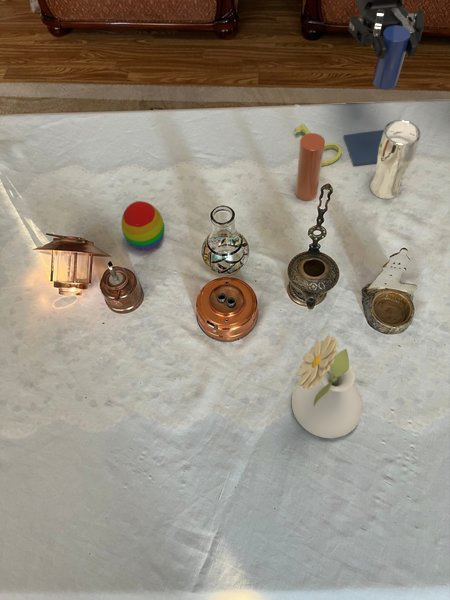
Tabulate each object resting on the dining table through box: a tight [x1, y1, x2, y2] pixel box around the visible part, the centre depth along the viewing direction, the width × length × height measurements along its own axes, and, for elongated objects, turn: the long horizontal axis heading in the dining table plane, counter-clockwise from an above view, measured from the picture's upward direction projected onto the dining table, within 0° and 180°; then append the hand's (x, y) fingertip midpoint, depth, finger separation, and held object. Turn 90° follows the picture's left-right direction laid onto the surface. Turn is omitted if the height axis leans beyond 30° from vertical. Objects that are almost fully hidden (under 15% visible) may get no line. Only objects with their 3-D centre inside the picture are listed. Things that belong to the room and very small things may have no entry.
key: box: [293, 123, 343, 167], centre depth 115 cm, size 7×12×2 cm, turn 49°
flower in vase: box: [291, 334, 364, 439], centre depth 75 cm, size 13×11×25 cm
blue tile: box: [343, 129, 384, 167], centre depth 115 cm, size 9×9×1 cm
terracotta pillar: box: [294, 132, 326, 202], centre depth 104 cm, size 5×5×14 cm
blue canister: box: [372, 26, 410, 91], centre depth 96 cm, size 5×5×10 cm
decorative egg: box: [121, 200, 165, 251], centre depth 102 cm, size 8×8×10 cm
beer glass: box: [369, 119, 421, 200], centre depth 103 cm, size 7×7×15 cm
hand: (398, 53), depth 92 cm, fingers closed on blue canister, 4 cm apart
